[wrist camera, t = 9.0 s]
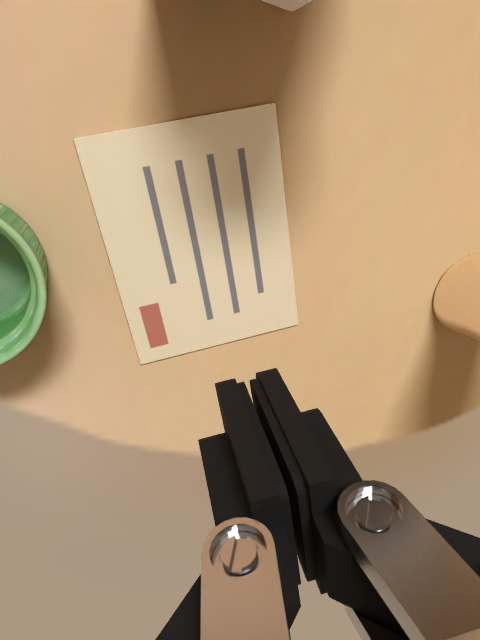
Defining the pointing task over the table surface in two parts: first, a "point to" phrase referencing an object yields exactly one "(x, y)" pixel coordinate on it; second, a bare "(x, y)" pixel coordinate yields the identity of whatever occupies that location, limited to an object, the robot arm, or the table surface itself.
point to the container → (288, 3)
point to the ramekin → (20, 284)
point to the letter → (195, 228)
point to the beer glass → (460, 297)
